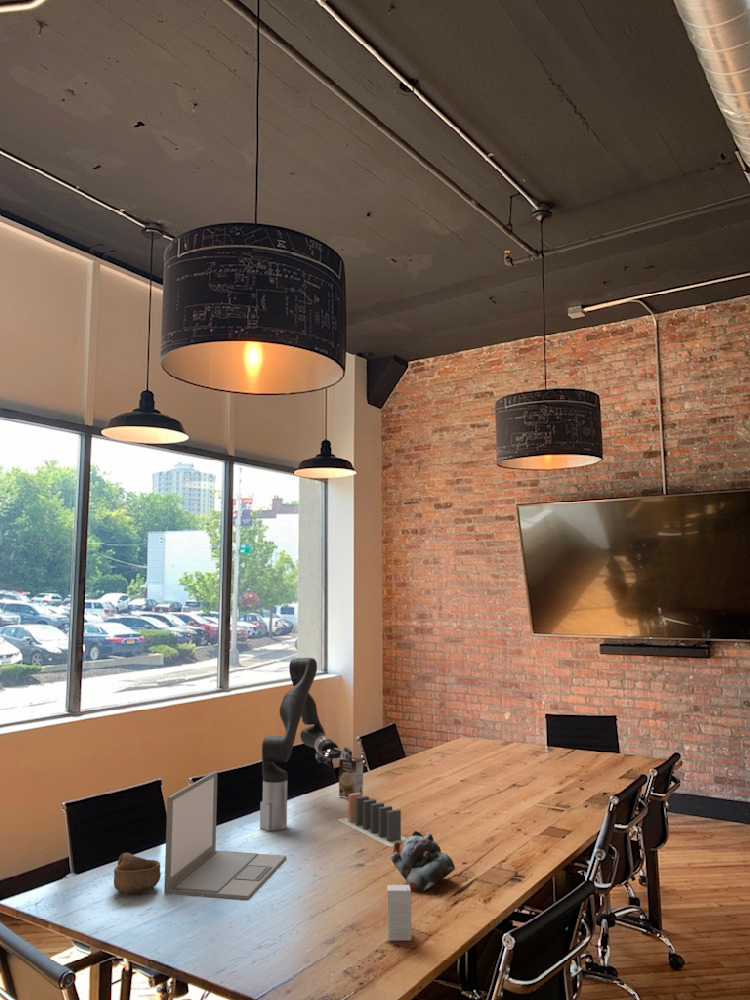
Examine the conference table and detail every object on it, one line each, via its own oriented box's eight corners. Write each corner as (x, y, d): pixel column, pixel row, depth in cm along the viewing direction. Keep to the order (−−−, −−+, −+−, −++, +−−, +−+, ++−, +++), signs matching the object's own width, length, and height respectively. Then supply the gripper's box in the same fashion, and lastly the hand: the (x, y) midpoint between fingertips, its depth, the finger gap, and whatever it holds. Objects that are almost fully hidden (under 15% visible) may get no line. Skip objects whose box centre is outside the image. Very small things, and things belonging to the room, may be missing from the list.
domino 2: (355, 825, 285) (355, 797, 286) (366, 823, 287) (366, 795, 289) (357, 826, 283) (357, 798, 285) (368, 824, 286) (368, 796, 287)
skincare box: (410, 933, 193) (410, 884, 195) (411, 941, 189) (411, 890, 190) (386, 933, 193) (386, 884, 195) (387, 941, 189) (387, 890, 190)
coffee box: (338, 797, 327) (338, 758, 329) (346, 793, 333) (346, 756, 335) (355, 799, 322) (355, 761, 324) (363, 796, 328) (363, 758, 330)
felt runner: (336, 820, 292) (336, 819, 292) (359, 816, 297) (359, 815, 297) (389, 847, 260) (389, 846, 260) (413, 842, 265) (413, 841, 265)
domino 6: (386, 840, 266) (386, 811, 268) (398, 838, 269) (398, 809, 270) (389, 841, 265) (388, 812, 266) (400, 839, 268) (400, 810, 269)
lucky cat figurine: (415, 896, 217) (392, 842, 223) (401, 899, 228) (380, 848, 234) (463, 870, 224) (440, 818, 230) (447, 875, 235) (426, 825, 241)
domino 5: (378, 836, 271) (378, 807, 272) (390, 834, 274) (389, 805, 275) (380, 837, 270) (380, 808, 271) (392, 835, 272) (392, 806, 273)
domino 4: (370, 832, 276) (370, 804, 277) (382, 830, 278) (381, 802, 279) (372, 833, 274) (372, 805, 276) (384, 831, 277) (384, 803, 278)
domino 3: (362, 828, 280) (362, 800, 282) (374, 826, 283) (374, 798, 284) (365, 829, 279) (365, 801, 280) (376, 827, 281) (376, 799, 283)
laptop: (247, 900, 215) (249, 801, 219) (163, 893, 220) (166, 797, 224) (286, 859, 249) (287, 774, 253) (212, 854, 254) (214, 771, 258)
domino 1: (348, 821, 289) (348, 794, 291) (359, 819, 292) (359, 792, 293) (350, 822, 288) (350, 795, 289) (361, 820, 291) (361, 793, 292)
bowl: (89, 886, 221) (99, 849, 225) (128, 886, 232) (136, 851, 235) (126, 900, 211) (136, 861, 215) (165, 899, 221) (174, 862, 225)
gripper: (309, 741, 311) (323, 755, 296) (341, 736, 317) (357, 749, 302) (309, 759, 311) (323, 773, 297) (341, 753, 317) (356, 768, 303)
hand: (340, 761), depth 299 cm, fingers open, 8 cm apart
